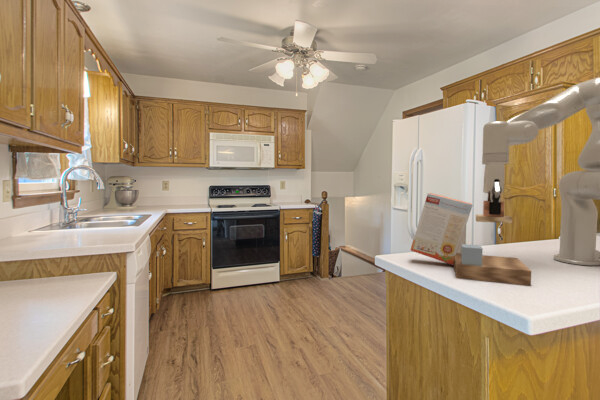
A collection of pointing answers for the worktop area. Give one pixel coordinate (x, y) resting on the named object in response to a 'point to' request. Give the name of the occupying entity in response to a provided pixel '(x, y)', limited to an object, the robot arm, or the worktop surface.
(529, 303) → the worktop surface
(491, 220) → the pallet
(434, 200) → the cracker box
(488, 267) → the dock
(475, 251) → the grey-blue cube
